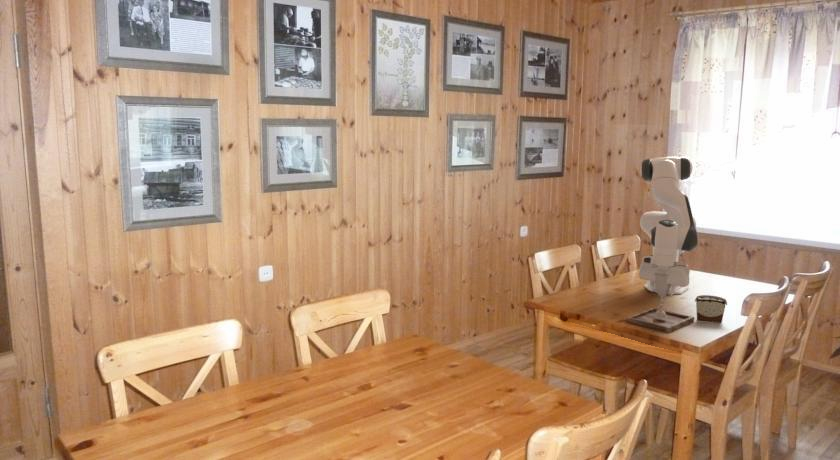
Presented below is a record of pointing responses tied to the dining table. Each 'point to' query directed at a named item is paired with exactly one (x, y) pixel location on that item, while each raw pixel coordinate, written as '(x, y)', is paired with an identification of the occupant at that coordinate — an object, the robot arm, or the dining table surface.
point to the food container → (710, 308)
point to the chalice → (661, 293)
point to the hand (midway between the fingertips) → (662, 293)
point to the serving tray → (660, 320)
